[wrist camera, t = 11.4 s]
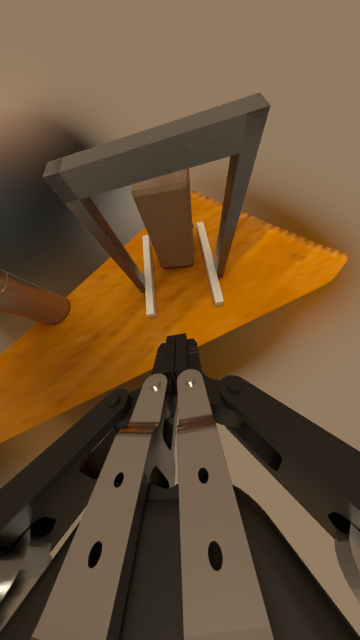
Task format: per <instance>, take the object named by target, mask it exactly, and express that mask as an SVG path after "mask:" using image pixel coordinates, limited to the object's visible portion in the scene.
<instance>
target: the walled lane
mask: <svg viewBox="0 0 360 640" xmlns="http://www.w3.org/2000/svg"><path fill="white" fill-rule="evenodd" d="M197 233H198V237H199V242H200V246H201V250H202V255H203V259H204V263H205V268H206V272H207V276H208V281H209V285H210V289H211V294H212V298H213V302H214V307H215V306H221V305H222V304H223V302H224V300H223V296H222V293H221V289H220V285H219V281H218V277H217V273H216V269H215V266H214V262H213V258H212V254H211V250H210V246H209V242H208V239H207V235H206V231H205V227H204V223H203V222H199V223H197ZM143 254H144V273H145V293H146V312H147V316H148V317H150V318H152V317H157V311H156V298H155V285H154V272H153V259H152V246H151V240H150V237H149V235H145V236H143Z"/></svg>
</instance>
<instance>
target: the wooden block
mask: <svg viewBox="0 0 360 640" xmlns="http://www.w3.org/2000/svg"><path fill="white" fill-rule="evenodd" d="M131 191H132V196H133V198H134V201H135V203H136V205H137V208H138V210H139V213H140V215H141V218H142V220H143V222H144V225H145V227H146V230H147V232H148V235H149V237H150V239H151V242H152V244H153V247H154V249H155V252H156V254H157V256H158V259H159V261H160V264H161V266H162V267H163V268H171V267H182V266H191V265H192V264H193V233H192V215H191V197H190V179H189V168H187V169H184V170H180V171H177V172H173V173H170V174H166V175H163V176H159V177H156V178H152V179H149V180H145V181H142V182H139V183H135V184H132V187H131Z"/></svg>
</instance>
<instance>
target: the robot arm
mask: <svg viewBox="0 0 360 640" xmlns="http://www.w3.org/2000/svg"><path fill="white" fill-rule="evenodd" d="M69 308H70V305H69V301H68V300H67V299H65V298H63V297H61V296H59V295H57V294H54V293H52V292H50V291H48V290H46V289H43V288H41V287H39V286H37V285H35V284H32V283H30V282H28V281H26V280H23V279H21V278H19V277H17V276H14V275H12V274H10V273H8V272H5V271H3V270H1V269H0V312H1V313H5V314H10V315H14V316H19V317H23V318H27V319H32V320H35V321H39V322H44V323H48V324H56V323H59V322H60V321H62V320H63V319H64V318H65V317H66V315H67V314H68V312H69ZM177 397H178V408H179V425H178V427H177V451H178V482H179V484H177V485H175V486H174V481H175V458H174V446H175V435H176V423H177V413H178V408H177ZM216 423H219V424H222V425H225V427H226V428H227V429H228V430H229V431H230V432H231V433H232V434H233V435H234V436H235V437H236V438H237V439H238V440H239V441H240V443H241V444H243V446H244V447H245V448H246V449H247V450H248V451H249V452H250V453H251V454H252V455H253V456H254V457H255V458H256V459H257V460H258V461H259V462H260V463H261V464H262V465H263V466H264V467H265V468H266V469H267V470H268V471H269V472H270V473H271V474H272V475H273V477H274V478H275V479H276V480H277V481H278V482H279V483H280V484H281V485H282V486H283V487H284V488H285V489H286V490H287V491H288V492H289V493H290V494H291V495H292V496H293V497H294V498H295V499H296V500H297V501H298V502H299V503H300V504H301V505H302V506H303V507H304V508H305V509H306V510H307V512H309V514H310V515H311V516H312V517H313V518H314V519H315V520H316V521H317V522H318V523H319V524H320V525H321V526H322V527H323V528H324V529H325V530H326V531H327V532H328V533H329V534H330V535H331V536H332V537H333V538H334V539H335V551H336V555H337V559H338V562H339V565H340V567H341V570H342V572H343V574H344V577H345V579H346V581H347V583H348V585H349V587H350V588H351V590H352V592H353V593H354V595H355V597H356V599H357V600H358V602H359V603H360V452H359V451H358V450H356V449H355V448H353V447H352V446H350V445H348V444H347V443H345V442H343V441H342V440H340V439H339V438H337V437H335V436H334V435H332V434H331V433H329V432H327V431H326V430H324V429H323V428H321V427H319V426H318V425H316V424H315V423H313V422H311V421H310V420H308V419H306V418H305V417H303V416H302V415H300V414H299V413H297V412H295V411H294V410H292V409H291V408H289V407H287V406H286V405H284V404H283V403H281V402H279V401H278V400H276V399H274V398H273V397H271V396H270V395H268V394H266V393H265V392H263V391H262V390H260V389H258V388H257V387H255V386H254V385H252V384H250V383H249V382H247V381H245V380H244V379H242V378H241V377H238V376H233V375H230V376H226V377H224V378H223V379H222V380H215V379H211V378H209V377H207V376H206V375H204V374H203V372H202V370H201V365H200V359H199V354H198V348H197V342H196V341H195V340H194V339H187V336H186V333H185V334H179V335H173V336H167V340H166V343H163V344H161V345H160V346H159V348H158V351H157V355H156V359H155V363H154V367H153V371H152V375H151V376H150V377H149V378H147V379H146V381H145V382H144V384H143V387H141V388H140V389H137V390H135V391H133V392H131V393H127V391H126V390H124V389H118V390H115V391H113V392H112V393H110V394H109V395H108V396H107V397H105V398H104V399H103V400H102V401H101V402H100V403H99V404H98V405H96V406H95V407H94V408H93V409H92V410H91V411H89V412H88V413H87V414H86V415H85V416H84V417H83V418H81V419H80V420H79V421H78V422H77V423H76V424H75V425H73V426H72V427H71V428H70V429H69V430H68V431H67V432H65V433H64V434H63V435H62V436H61V437H60V438H58V439H57V440H56V441H55V442H54V443H53V444H52V445H50V447H48V448H47V449H46V450H45V451H44V452H42V453H41V454H40V455H39V456H38V457H37V458H36V459H34V460H33V461H32V462H31V463H30V464H29V465H27V466H26V467H25V468H24V469H23V470H22V471H21V472H19V473H18V474H17V475H16V476H15V477H14V478H13V479H12V480H10V481H9V482H8V483H7V484H6V485H5V486H3V487H2V488H1V489H0V640H360V636H359V635H358V634H357V632H356V631H355V630H354V628H353V627H352V626H351V624H350V623H349V622H348V620H347V619H346V618H345V617H344V615H343V614H342V613H341V611H340V610H339V609H338V607H337V606H336V605H335V603H334V602H333V601H332V599H331V598H330V597H329V595H328V594H327V593H326V591H325V590H324V589H323V587H322V586H321V585H320V583H319V582H318V581H317V579H316V578H315V577H314V575H313V574H312V573H311V571H310V570H309V569H308V567H307V566H306V565H305V564H304V562H303V561H302V560H301V558H300V557H299V556H298V554H297V553H296V552H295V551H294V549H293V548H292V546H291V545H290V544H289V543H288V541H287V540H286V539H285V537H284V536H283V534H282V533H281V532H280V530H279V529H278V528H277V526H276V525H275V524H274V523H273V521H272V520H271V519H270V517H269V516H268V515H267V514H266V512H265V511H264V510H263V509H262V508H261V507H260V506H259V505H258V503H256V502H255V501H254V500H253V499H252V498H251V497H250V496H249V495H248V494H246V493H245V492H244V491H242V490H241V489H240V488H238V487H236V486H234V485H232V482H231V478H230V475H229V471H228V467H227V464H226V460H225V456H224V452H223V449H222V445H221V441H220V438H219V434H218V430H217V427H216ZM112 429H113V430H112ZM111 430H112V431H111ZM110 431H111V432H110ZM109 432H110V433H109ZM108 433H109V434H108ZM107 434H108V435H107ZM106 435H107V436H106ZM105 436H106V437H105ZM104 437H105V438H104ZM103 438H104V439H103ZM102 439H103V440H102ZM101 440H102V442H101V443H100V444H99V445H98V443H99V442H100V441H101ZM97 445H98V446H97ZM96 446H97V447H96ZM95 447H96V448H95ZM94 448H95V449H94ZM93 449H94V450H93ZM92 450H93V451H92ZM91 451H92V452H91ZM86 506H87V507H86ZM85 507H86V509H85V511H84V514H83V517H82V519H81V521H80V522H79V524H78V525H77V526H76V528H75V529H74V530H73V532H72V533H71V535H70V536H69V537H68V539H67V540H66V541H65V543H64V544H63V546H62V547H61V549H60V550H59V551H58V553H57V554H56V555H55V557H54V558H53V559H52V556H51V555H50V552H51V551H52V550H53V548H54V547H55V546H56V544H57V543H58V542H59V541H60V539H61V538H62V537H63V536H64V534H65V533H66V532H67V530H68V529H69V528H70V526H71V525H72V524H73V523H74V521H75V520H76V519H77V517H78V516H79V515H80V513H81V512H82V511H83V510H84V508H85Z"/></svg>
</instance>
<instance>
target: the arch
mask: <svg viewBox="0 0 360 640" xmlns="http://www.w3.org/2000/svg"><path fill="white" fill-rule="evenodd" d="M269 108H270V105H269V103H268V102H267V101H266V100H265V98H264V97H263V96H262V95H261V93H257V94H254V95H251V96H248V97H245V98H242V99H239V100H236V101H233V102H230V103H227V104H224V105H221V106H217V107H214V108H211V109H209V110H206V111H203V112H200V113H196V114H194V115H190V116H187V117H184V118H181V119H178V120H175V121H172V122H169V123H166V124H163V125H160V126H157V127H154V128H151V129H148V130H145V131H142V132H139V133H136V134H132V135H129V136H126V137H123V138H120V139H117V140H114V141H111V142H108V143H105V144H102V145H99V146H96V147H93V148H90V149H87V150H84V151H81V152H78V153H75V154H72V155H69V156H66V157H63V158H59V159H56V160H53V161H50V162H48V163H47V166H46V169H45V172H44V175H43V179H44V180H45V181H46V182H47V183H48V184H49V186H50V187H51V188H52V189H53V190H54V191H55V193H56V194H57V195H58V196H59V197H60V198H61V199H62V201H63V202H64V203H65V204H66V205H67V206H68V208H69V209H70V210H71V211H72V212H73V213H74V215H75V216H76V217H77V218H78V219H79V220H80V221H81V222H82V224H83V225H84V226H85V227H86V228H87V230H88V231H89V232H90V233H91V234H92V235H93V236H94V237H95V239H96V240H97V241H98V242H99V243H100V245H101V246H102V247H103V248H104V249H105V250H106V251H107V253H108V254H109V255H110V256H111V257H112V258H113V260H114V261H115V262H116V263H117V264H118V265H119V266H120V268H121V269H122V270H123V271H124V272H125V273H126V275H127V276H128V277H129V278H130V279H131V280H132V281H133V283H134V284H135V285H136V286H137V287H138V288H139V290H140V291H141V292H142V293H143V292H145V278H144V276H143V275H142V273H141V272H140V270H139V269H138V267H137V266H136V265H135V263H134V262H133V260H132V259H131V257H130V256H129V254H128V253H127V251H126V250H125V248H124V247H123V245H122V244H121V242H120V241H119V240H118V238H117V237H116V235H115V234H114V232H113V231H112V229H111V228H110V226H109V225H108V223H107V222H106V220H105V219H104V218H103V216H102V215H101V213H100V212H99V210H98V209H97V207H96V206H95V204H94V203H93V201H92V200H91V199H90V196H93V195H96V194H100V193H103V192H107V191H110V190H114V189H118V188H121V187H124V186H128V185H132V184H135V183H139V182H142V181H145V180H149V179H152V178H156V177H159V176H163V175H166V174H170V173H173V172H177V171H180V170H184V169H187V168H190V167H194V166H198V165H201V164H204V163H208V162H211V161H215V160H218V159H222V158H225V157H229V156H230V163H229V170H228V176H227V182H226V189H225V195H224V202H223V208H222V215H221V222H220V228H219V235H218V241H217V248H216V254H215V261H214V266H215V269H216V273H217V277H218V278H220V277H223V273H224V269H225V266H226V262H227V259H228V255H229V251H230V248H231V244H232V241H233V237H234V234H235V230H236V226H237V223H238V219H239V216H240V212H241V209H242V205H243V201H244V198H245V194H246V191H247V187H248V184H249V180H250V176H251V173H252V169H253V165H254V162H255V158H256V155H257V151H258V148H259V144H260V141H261V137H262V133H263V130H264V126H265V123H266V119H267V115H268V112H269Z"/></svg>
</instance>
